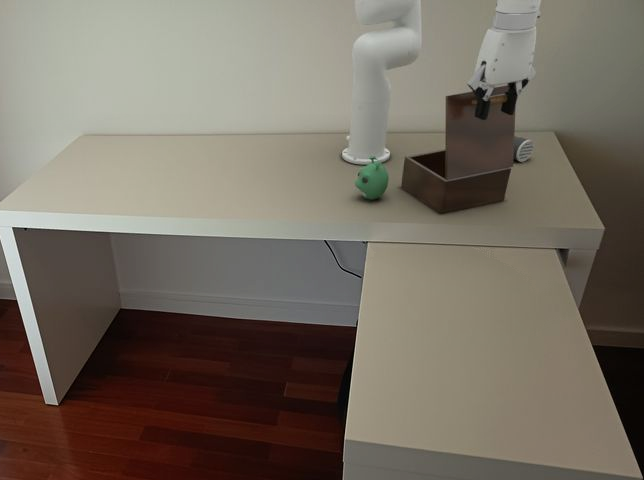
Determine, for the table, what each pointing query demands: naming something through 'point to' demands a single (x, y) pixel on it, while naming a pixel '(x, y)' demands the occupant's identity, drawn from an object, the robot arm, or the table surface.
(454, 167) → the lid
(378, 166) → the alien toy
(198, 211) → the table surface
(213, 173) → the table surface
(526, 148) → the flashlight
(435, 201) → the chest
